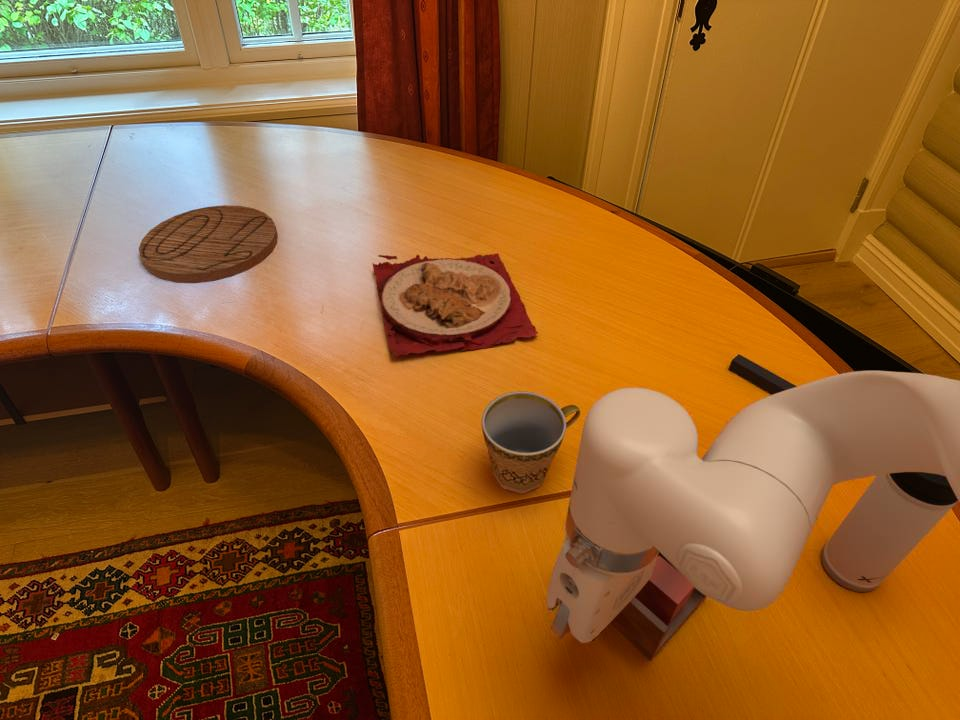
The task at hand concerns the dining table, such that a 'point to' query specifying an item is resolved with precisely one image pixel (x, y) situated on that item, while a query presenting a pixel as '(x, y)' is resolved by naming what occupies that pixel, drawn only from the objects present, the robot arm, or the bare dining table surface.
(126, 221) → the dining table surface
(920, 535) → the travel mug
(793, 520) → the robot arm
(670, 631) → the open wooden box
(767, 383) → the edge rail
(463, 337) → the plate with food
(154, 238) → the trivet
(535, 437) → the ceramic cup
